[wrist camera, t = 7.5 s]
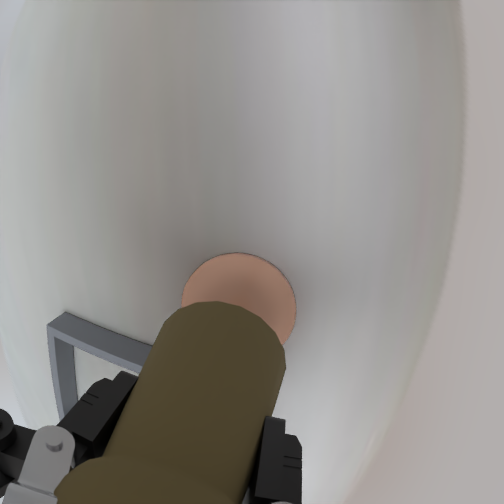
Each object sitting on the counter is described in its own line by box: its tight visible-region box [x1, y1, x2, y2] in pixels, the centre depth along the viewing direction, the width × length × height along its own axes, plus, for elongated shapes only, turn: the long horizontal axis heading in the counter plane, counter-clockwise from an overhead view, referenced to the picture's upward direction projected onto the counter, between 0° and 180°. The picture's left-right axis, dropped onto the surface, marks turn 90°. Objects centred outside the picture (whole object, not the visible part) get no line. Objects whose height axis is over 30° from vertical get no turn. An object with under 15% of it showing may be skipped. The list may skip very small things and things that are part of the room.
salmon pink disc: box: [181, 253, 296, 345], centre depth 19 cm, size 7×7×1 cm
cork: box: [54, 301, 286, 504], centre depth 9 cm, size 6×6×11 cm
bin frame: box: [47, 312, 152, 421], centre depth 22 cm, size 12×12×2 cm
